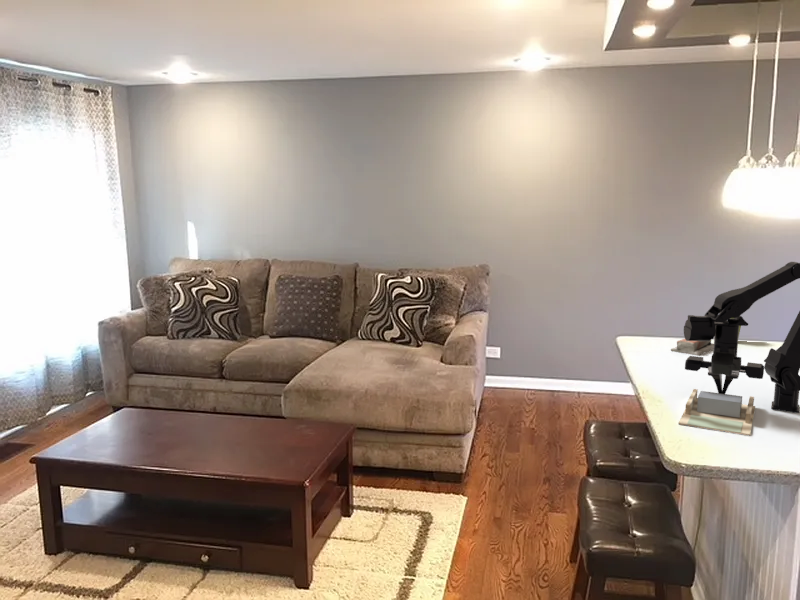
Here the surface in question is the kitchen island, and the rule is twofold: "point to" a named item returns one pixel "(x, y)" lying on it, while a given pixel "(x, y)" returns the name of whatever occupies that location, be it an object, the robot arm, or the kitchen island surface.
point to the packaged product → (693, 347)
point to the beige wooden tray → (718, 417)
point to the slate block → (719, 404)
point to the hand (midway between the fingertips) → (721, 398)
